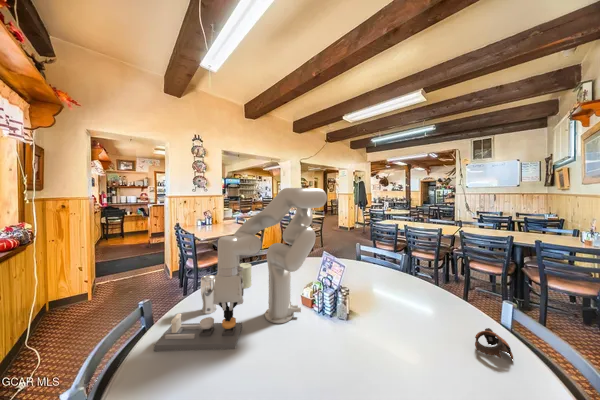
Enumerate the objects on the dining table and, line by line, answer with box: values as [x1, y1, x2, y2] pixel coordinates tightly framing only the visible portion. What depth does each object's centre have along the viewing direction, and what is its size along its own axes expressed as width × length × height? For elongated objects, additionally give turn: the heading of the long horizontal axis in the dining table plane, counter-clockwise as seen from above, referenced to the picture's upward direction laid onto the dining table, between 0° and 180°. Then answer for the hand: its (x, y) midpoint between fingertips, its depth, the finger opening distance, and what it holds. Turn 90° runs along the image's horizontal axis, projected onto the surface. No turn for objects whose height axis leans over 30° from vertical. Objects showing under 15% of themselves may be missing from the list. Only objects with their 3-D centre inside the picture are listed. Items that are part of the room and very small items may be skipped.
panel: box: [153, 322, 243, 352], centre depth 82 cm, size 27×12×3 cm, turn 93°
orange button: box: [221, 316, 237, 329], centre depth 82 cm, size 5×5×3 cm
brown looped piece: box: [474, 327, 514, 360], centre depth 76 cm, size 12×10×8 cm
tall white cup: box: [200, 274, 217, 315], centre depth 100 cm, size 7×7×15 cm
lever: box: [170, 312, 183, 334], centre depth 81 cm, size 3×5×6 cm, turn 3°
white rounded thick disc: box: [199, 316, 215, 330], centre depth 82 cm, size 5×5×3 cm
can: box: [239, 262, 253, 290], centre depth 127 cm, size 9×9×12 cm
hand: (228, 319), depth 82 cm, fingers closed
